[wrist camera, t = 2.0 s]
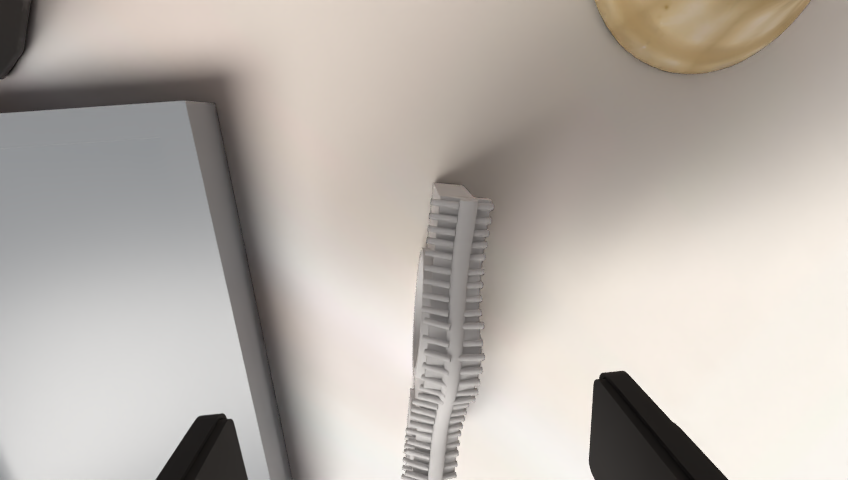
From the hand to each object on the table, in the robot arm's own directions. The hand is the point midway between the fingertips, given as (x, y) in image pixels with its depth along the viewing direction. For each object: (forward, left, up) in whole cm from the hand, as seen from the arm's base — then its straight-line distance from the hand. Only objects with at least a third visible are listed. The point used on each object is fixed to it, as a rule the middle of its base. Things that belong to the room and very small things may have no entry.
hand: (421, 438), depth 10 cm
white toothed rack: (-1, 0, -7) cm, 7 cm away
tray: (+13, 0, -7) cm, 15 cm away
